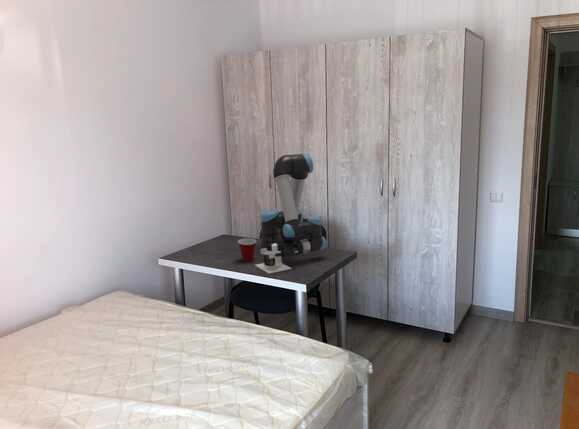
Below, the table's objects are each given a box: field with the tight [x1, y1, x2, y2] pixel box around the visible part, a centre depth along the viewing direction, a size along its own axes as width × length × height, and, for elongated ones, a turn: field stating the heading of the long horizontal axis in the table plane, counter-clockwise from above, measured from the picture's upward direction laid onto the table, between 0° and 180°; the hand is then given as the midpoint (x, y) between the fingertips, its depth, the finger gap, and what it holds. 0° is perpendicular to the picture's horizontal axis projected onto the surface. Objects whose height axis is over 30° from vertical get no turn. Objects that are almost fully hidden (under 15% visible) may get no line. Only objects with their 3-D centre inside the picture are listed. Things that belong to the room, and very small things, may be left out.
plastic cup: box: [237, 238, 257, 263], centre depth 277 cm, size 11×11×12 cm
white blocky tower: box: [263, 243, 282, 267], centre depth 260 cm, size 7×7×12 cm
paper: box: [254, 262, 292, 274], centre depth 264 cm, size 18×14×1 cm
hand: (265, 253), depth 257 cm, fingers closed on white blocky tower, 10 cm apart
